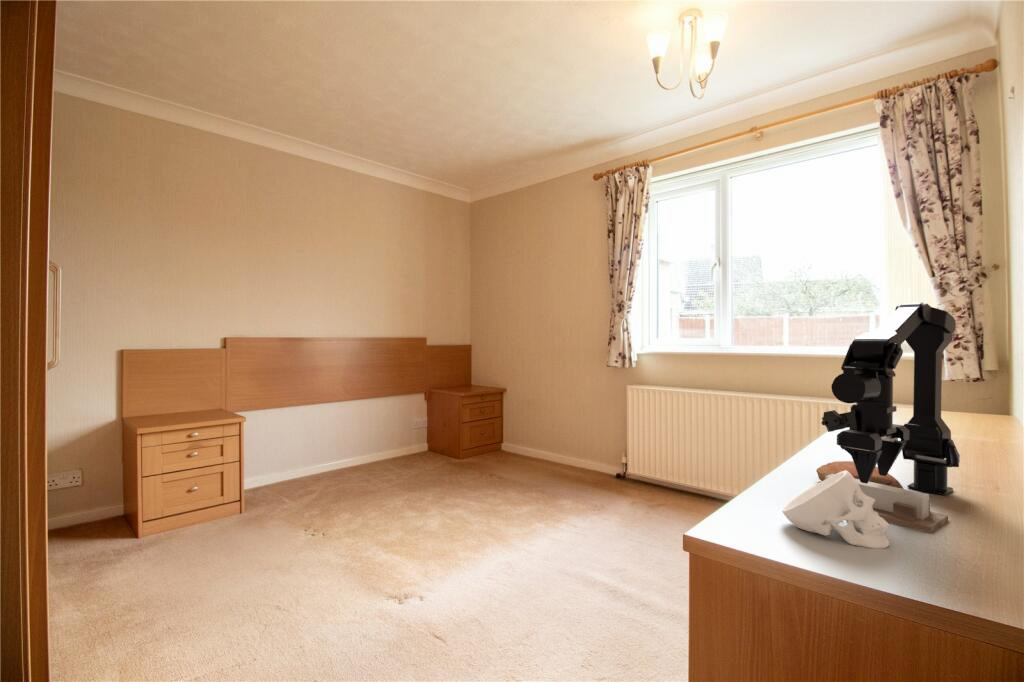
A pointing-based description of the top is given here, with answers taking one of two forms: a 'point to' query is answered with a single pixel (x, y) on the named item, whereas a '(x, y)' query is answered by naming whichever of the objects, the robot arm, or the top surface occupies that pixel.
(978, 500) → the top surface
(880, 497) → the clay strip
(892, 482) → the ceramic shard
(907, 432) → the robot arm
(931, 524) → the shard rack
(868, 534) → the skull bowl
